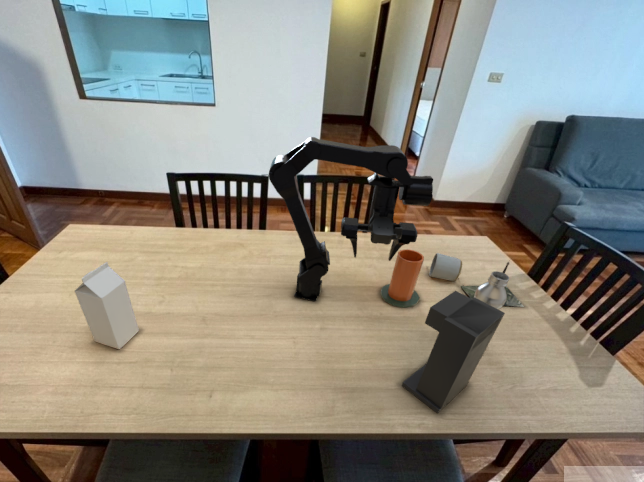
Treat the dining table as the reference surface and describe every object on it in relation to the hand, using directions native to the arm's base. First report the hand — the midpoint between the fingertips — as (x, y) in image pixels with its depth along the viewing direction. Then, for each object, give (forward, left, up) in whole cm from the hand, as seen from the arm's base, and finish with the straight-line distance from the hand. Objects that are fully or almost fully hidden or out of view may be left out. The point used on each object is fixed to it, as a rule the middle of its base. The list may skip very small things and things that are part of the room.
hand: (372, 258), depth 95 cm
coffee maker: (+19, -28, -13) cm, 36 cm away
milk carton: (-55, -37, -13) cm, 68 cm away
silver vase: (+37, +14, -13) cm, 41 cm away
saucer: (+10, +4, -13) cm, 17 cm away
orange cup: (+10, +4, -12) cm, 16 cm away
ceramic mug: (+23, +21, -13) cm, 33 cm away
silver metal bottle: (+28, -10, -13) cm, 32 cm away
